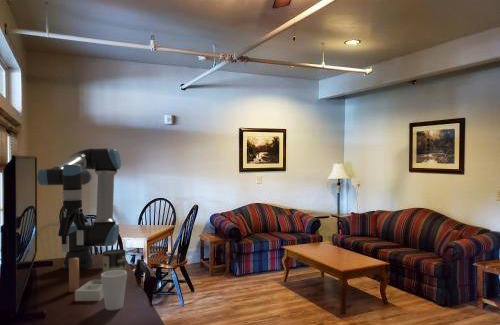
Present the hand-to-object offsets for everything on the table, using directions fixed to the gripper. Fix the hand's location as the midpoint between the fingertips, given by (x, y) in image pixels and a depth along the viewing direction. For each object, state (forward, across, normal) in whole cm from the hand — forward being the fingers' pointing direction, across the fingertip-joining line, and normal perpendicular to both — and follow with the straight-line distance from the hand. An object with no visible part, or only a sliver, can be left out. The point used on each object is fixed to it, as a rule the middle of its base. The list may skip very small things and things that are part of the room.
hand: (73, 248), depth 167 cm
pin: (+19, 0, 0) cm, 19 cm away
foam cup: (+19, +20, +25) cm, 37 cm away
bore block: (+19, +5, +12) cm, 22 cm away
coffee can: (+19, -13, +13) cm, 27 cm away
